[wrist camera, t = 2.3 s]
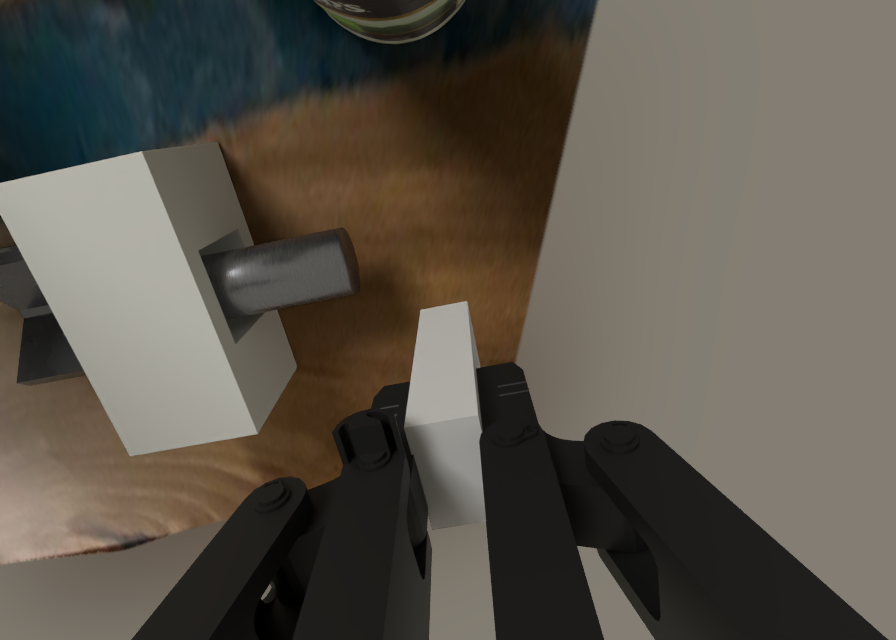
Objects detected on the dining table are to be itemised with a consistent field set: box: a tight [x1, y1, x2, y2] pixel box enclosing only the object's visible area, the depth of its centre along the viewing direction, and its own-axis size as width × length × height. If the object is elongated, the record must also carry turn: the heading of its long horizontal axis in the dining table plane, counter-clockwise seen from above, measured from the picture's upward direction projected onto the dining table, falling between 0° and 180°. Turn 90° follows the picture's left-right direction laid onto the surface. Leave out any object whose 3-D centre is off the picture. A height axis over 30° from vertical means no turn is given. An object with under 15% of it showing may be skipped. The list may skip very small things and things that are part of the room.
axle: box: [200, 228, 360, 320], centre depth 31 cm, size 17×4×4 cm, turn 101°
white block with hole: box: [0, 142, 297, 456], centre depth 31 cm, size 8×16×8 cm, turn 11°
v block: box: [0, 245, 86, 386], centre depth 34 cm, size 6×9×4 cm, turn 11°
